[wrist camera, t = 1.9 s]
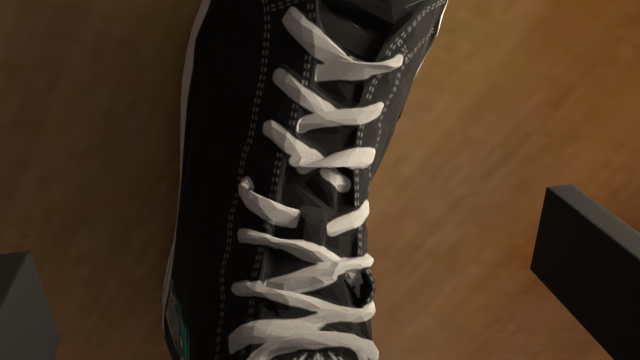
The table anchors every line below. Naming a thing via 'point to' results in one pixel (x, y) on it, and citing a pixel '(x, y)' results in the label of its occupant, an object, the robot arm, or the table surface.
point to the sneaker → (285, 173)
